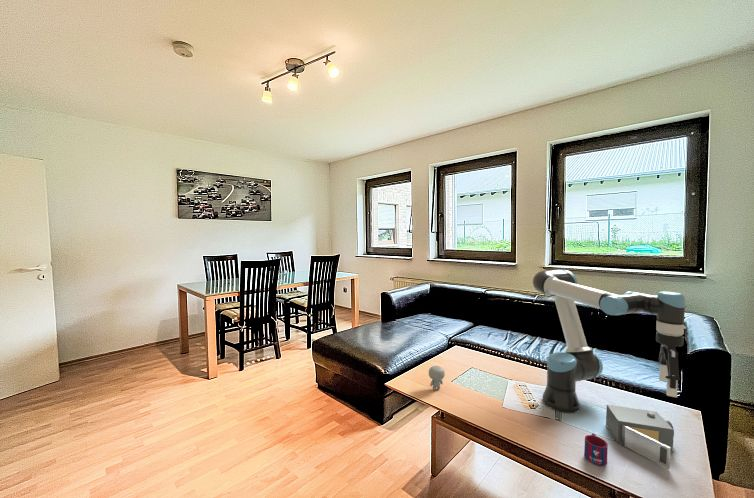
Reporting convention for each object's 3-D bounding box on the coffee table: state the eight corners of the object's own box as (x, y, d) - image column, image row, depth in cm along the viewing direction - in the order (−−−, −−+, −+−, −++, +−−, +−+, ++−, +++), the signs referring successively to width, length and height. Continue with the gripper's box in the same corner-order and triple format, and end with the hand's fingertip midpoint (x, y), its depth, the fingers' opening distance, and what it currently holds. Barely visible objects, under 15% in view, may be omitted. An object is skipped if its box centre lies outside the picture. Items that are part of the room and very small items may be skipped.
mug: (584, 460, 111) (584, 442, 110) (584, 445, 119) (585, 428, 118) (607, 469, 107) (608, 450, 106) (606, 452, 115) (606, 434, 115)
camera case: (617, 443, 119) (618, 418, 119) (606, 424, 131) (606, 402, 130) (681, 455, 113) (682, 428, 113) (663, 434, 125) (664, 410, 124)
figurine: (439, 385, 166) (439, 363, 166) (446, 391, 159) (447, 369, 158) (426, 387, 164) (426, 365, 163) (433, 394, 156) (433, 371, 156)
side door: (620, 444, 118) (621, 425, 118) (622, 443, 119) (623, 424, 118) (667, 469, 105) (668, 448, 105) (669, 468, 106) (670, 447, 106)
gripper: (693, 345, 104) (690, 406, 105) (675, 326, 125) (673, 378, 126) (663, 341, 108) (660, 400, 109) (650, 323, 129) (648, 373, 130)
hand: (667, 388), depth 117 cm, fingers open, 13 cm apart
